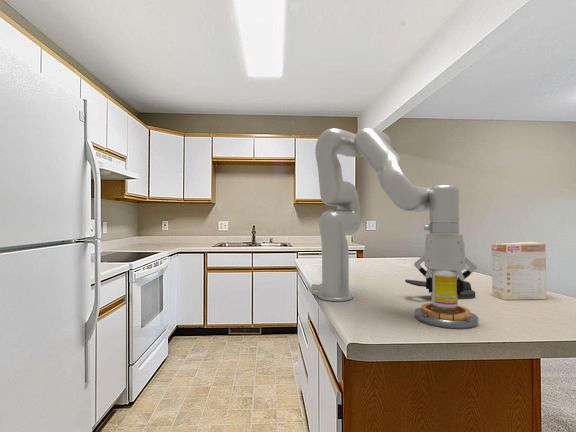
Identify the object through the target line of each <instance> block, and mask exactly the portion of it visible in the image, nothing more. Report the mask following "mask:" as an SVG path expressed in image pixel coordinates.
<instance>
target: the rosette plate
mask: <svg viewBox="0 0 576 432" xmlns="http://www.w3.org/2000/svg"><path fill="white" fill-rule="evenodd" d="M414 319H416V320H417V321H418V322H420V323H422V324H425V325H427V326H428V325H429V326H432V327H435V328H436V327H437V328H441V329H442V328H443V329H448V330H449V329H452V330H469V329H473V328H476V327H479V316H478V315H477V314H475V313H473V312H471V309H469V308H467V307H465V306H462V305H459V304H458V305H457V307H455V308H441V307H437V306H434V305H433V304H432V302H428V303H427V302H426V303H423V304H421V305H420V307H417V308H416V309H414Z"/></svg>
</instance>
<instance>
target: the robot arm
mask: <svg viewBox="0 0 576 432" xmlns="http://www.w3.org/2000/svg"><path fill="white" fill-rule="evenodd" d="M391 145H392V142H391V139H390V137H389V135H388V134H386V132H384V131H380V130H378V129H376V128H372V127H364V128H361V129H359V130H358V131H357V132H356V133H353V132H350V131H347V130H344V129H342V128H338V127H337V128H335V127H332V128H328V129H326V130H324V131H323V132H322V133H321V134H320V135H319V137H318V138H317V141H316V143H315V150H314V151H315V152H314V154H315V159H316V166H317V173H318V184H319V195H320V199H321V202H322V203H323V204H324V205H326V206H330V207H337V208H336V209H328V210H326V211H324V212H322V214H321V215H320V217H319V220H318V221H319V222H318V228H319V234H320V240H321V283H320V284H315V283H312V284H311V285H310V286H311V290H312V291H318V293H317V297H318V298H319V300H320V299H321V300H323V301H326V302H327V301H329V302H346V301H351V300H354V294H353V292H350V285H349V284H350V275H349V274H350V269H349V267H350V266H349V264H350V262H349V260H350V259H349V257H350V256H349V255H350V254H349V253H350V252H349V243H348V240H347V237H346V236H349V235H354V234H355V233H357V232H358V230H359V229H360V228H361V221H362V218H361V209H360V208H361V207H360V201H359V193H358V190H357V188H356V186H355V185H354V184H353V183H351V182H349V181H347V180H346V181H345V180H344V178H343V173H342V172H343V171H342V165H341V162H340V160H339V158H338V155H341V156H345V157H350V158H364V159H365V161H366V162H367V163H368V164H369V166H370V167H371V168H372V169H373V171H374V172H375V173H376V174H377V179H378V181H379V183H380V187H382V190H383V191H384V192H385V194H386V195H387V196H388V198H389V199H390V200H391V201H392V202H393V204H394V205H395V206H396V207H397V208H399V209H400V210H402V211H406V212H415V213H417V212H419V213H421V212H422V213H423V212H429V213H428V214H429V219H428V220H429V223H427V224H424V225H423V230H424V231H425V230H426V231H428V232H429V233H427V234H426V235H425V236H426V237H425V242H424V254H423V255H422V256H421V257H419V259H417V260H416V261H415V262H414V263H413V266H414V267H415V268H416V269H417V270H418V272H420V273H421V274H422V275H423V276H424V277H425V282H426V287H425V289H426V290H428V293H430V294H431V292H432V279H431V273H432V272H433V270H447V271H456V273H457V292H458V295H461V292H463V281H466V279H467V278H468V277H469V276H470V275H471V274H472V273H473V272H475V271H476V270H477V267H478V266H477V265H475V264H474V263H473V262H472V261H471V260H470V259H468V257H466V251H465V242H464V236H463V234H460V190H459V187H458V186H457V185H455V184H454V185H453V184H439V185H433V186H431V187H424V186H419V185H415V184H413V183H412V181H410V179H408V177H407V176H406V175H405V174H404V173H403V171H402V169H401V167H400V162H401V157H400V155H399V154H398V153H397V152H396V151H395V150H394V148H392V146H391ZM423 263H424V267H425V268H426V269H425V268H424V267H423V266H422V265H421V264H423ZM466 265H467V266H468V268H467V269H466ZM465 269H466V270H465ZM462 271H463V272H462Z"/></svg>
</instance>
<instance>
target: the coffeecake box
mask: <svg viewBox="0 0 576 432" xmlns="http://www.w3.org/2000/svg"><path fill="white" fill-rule="evenodd" d="M546 266H547V265H546V243H545V242H544V243H543V242H536V241H525V242H524V241H520V242H519V241H518V242H517V241H516V242H514V241H511V242H507V241H506V242H491V284H492V285H491V288H492V289H491V292H492V297H495V298H499V299H501V300H504V301H510V300H511V301H515V300H517V301H521V300H526V301H527V300H547V271H546V270H547V269H546V268H547V267H546Z"/></svg>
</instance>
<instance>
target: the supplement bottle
mask: <svg viewBox="0 0 576 432" xmlns="http://www.w3.org/2000/svg"><path fill="white" fill-rule="evenodd" d="M431 279H432V292H431V293H430V294H431V300H430V301H431V302H430V303H432V304H433V305H434V306H437V307H441V308H455V307H457V305H459V304H458V300H459V299H458V292H457V279H458V275H457V273H456V271H447V270H433V272H432V273H431Z"/></svg>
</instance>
